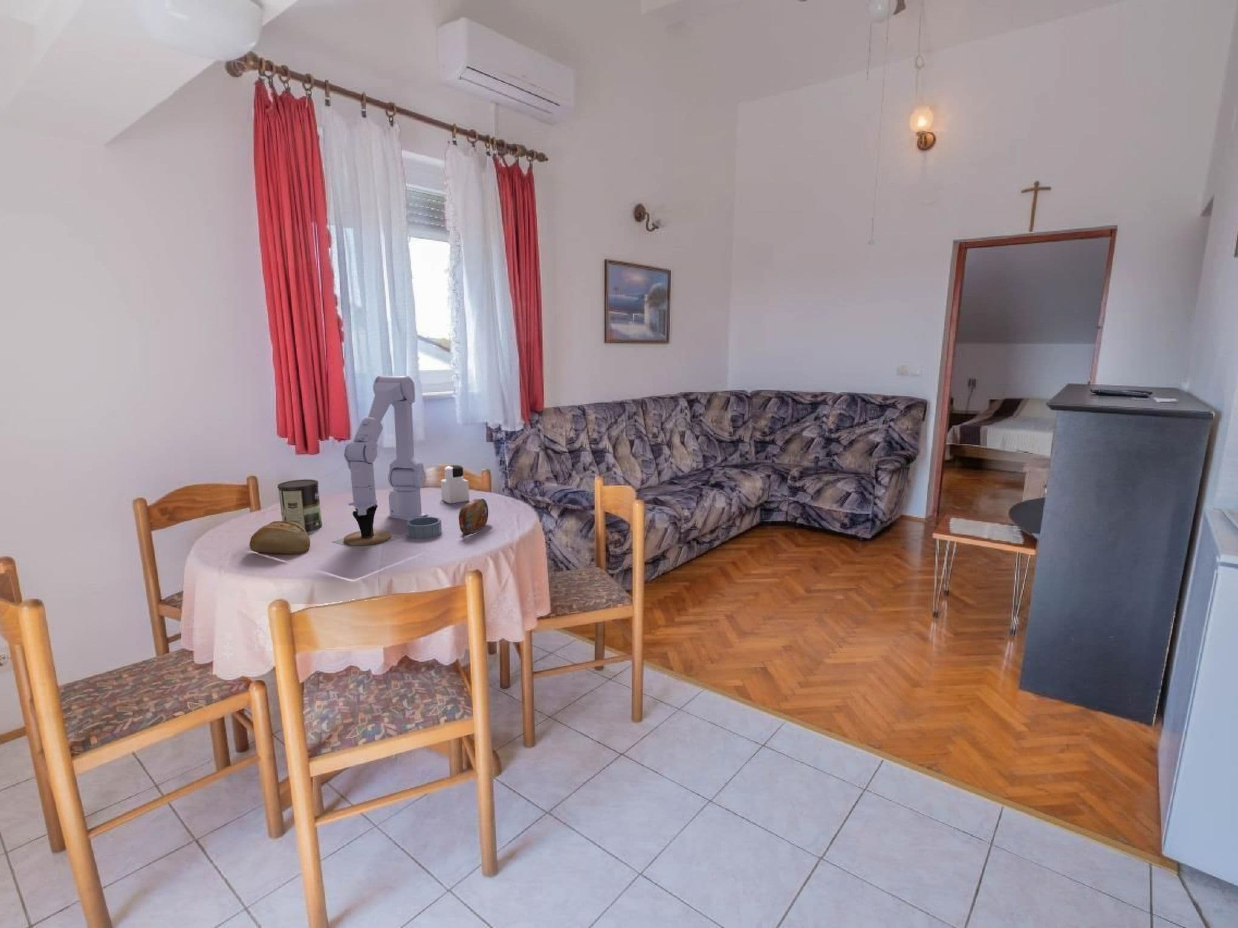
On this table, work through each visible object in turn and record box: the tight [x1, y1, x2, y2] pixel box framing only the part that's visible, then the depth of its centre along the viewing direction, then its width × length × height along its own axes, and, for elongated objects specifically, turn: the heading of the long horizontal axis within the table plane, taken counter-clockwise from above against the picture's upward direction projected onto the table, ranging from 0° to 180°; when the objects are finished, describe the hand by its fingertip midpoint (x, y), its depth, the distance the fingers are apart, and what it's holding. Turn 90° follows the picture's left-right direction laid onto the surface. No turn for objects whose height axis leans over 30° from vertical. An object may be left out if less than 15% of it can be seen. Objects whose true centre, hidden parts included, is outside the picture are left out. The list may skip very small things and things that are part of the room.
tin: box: [458, 498, 489, 535], centre depth 177 cm, size 15×3×8 cm, turn 168°
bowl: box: [406, 516, 443, 540], centre depth 173 cm, size 9×9×4 cm
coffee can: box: [277, 478, 323, 534], centre depth 175 cm, size 10×10×14 cm
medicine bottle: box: [440, 464, 470, 505], centre depth 209 cm, size 7×7×12 cm
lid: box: [343, 522, 392, 546], centre depth 167 cm, size 12×12×4 cm
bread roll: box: [249, 520, 311, 555], centre depth 158 cm, size 10×15×8 cm, turn 90°
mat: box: [332, 533, 404, 551], centre depth 168 cm, size 13×13×1 cm
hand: (367, 533), depth 167 cm, fingers closed on lid, 3 cm apart
